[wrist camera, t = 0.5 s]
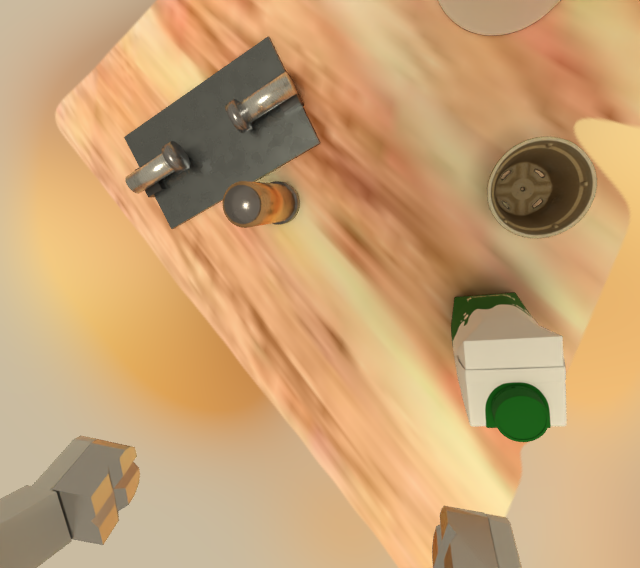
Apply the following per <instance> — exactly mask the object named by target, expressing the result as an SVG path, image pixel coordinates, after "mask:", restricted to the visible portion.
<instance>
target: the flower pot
mask: <svg viewBox="0 0 640 568" xmlns="http://www.w3.org/2000/svg"><path fill="white" fill-rule="evenodd" d="M535 169H537V170H539V171H541V172H542V173H543V174H544V175H545V176H544V177H543V178H542V177H540V176H539V174H537V173H536V172H535ZM508 170H511V173H510V174H508V175H507V176H506V177H505V179H504V180H503V179H501V177H502V175H503V174H504V173H505V172H506V171H508ZM596 186H597V177H596V172H595V168H594V166H593V163H592V162H591V160H590V158H589V157H588V155H587V154H586V153H585V152H584V151H583V150H582V149H581V148H580V147H578V146H577V145H575V144H574V143H572V142H570V141H568V140H565V139H561V138H556V137H538V138H533V139H529V140H526V141H524V142H522V143H520V144H518V145H516V146H515V147H513V148H512V149H510V150H509V151H508V152H507V153H505V154H504V155H503V157H502V158H501V159H500V160H499V161H498V163H497V164H496V166H495V167H494V169H493V171H492V173H491V176H490V179H489V182H488V188H487V198H488V203H489V207H490V210H491V212H492V214H493V216H494V217H495V219H496V220H497V221H498V222H499V223H500V224H501V225H502V226H503V227H504V228H505V229H507V230H508V231H510V232H512V233H514V234H516V235H519V236H522V237H527V238H546V237H551V236H555V235H558V234H560V233H562V232H564V231H566V230H568V229H570V228H571V227H573V226H574V225H575V224H576V223H578V222H579V221H580V220H581V219H582V218H583V216H584V215H585V214H586V213H587V211H588V210H589V208H590V206H591V204H592V202H593V199H594V197H595V193H596ZM522 187H524V188H525V190H524V191H521V188H522ZM539 199H542V203H541V204H540V205H538V206H537V207H535V208H533V204H535V203H536V202H537V201H538V200H539ZM502 201H504V202H505V203H508V206H510V208H509V209H508V208H507V207H506V206H505V205H503V203H502Z"/></svg>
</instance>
